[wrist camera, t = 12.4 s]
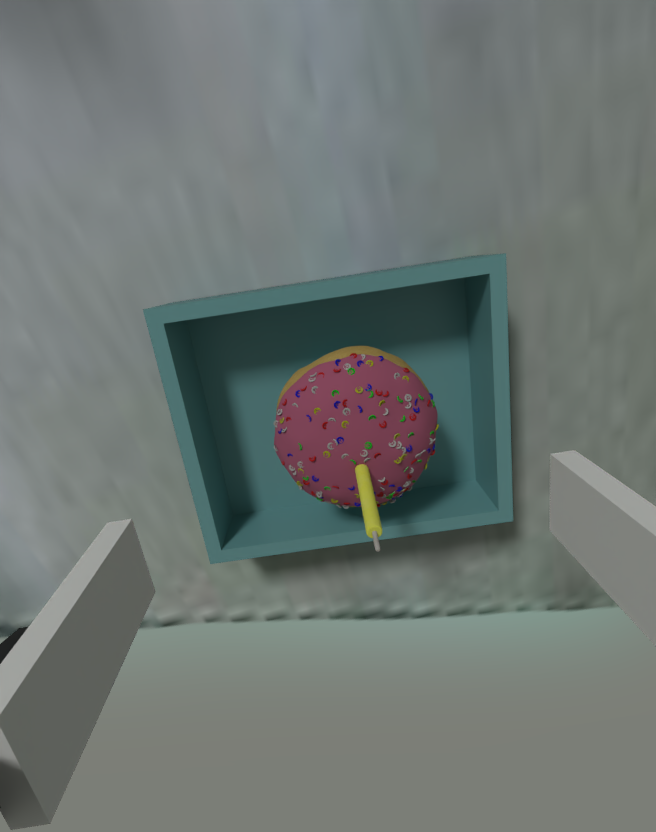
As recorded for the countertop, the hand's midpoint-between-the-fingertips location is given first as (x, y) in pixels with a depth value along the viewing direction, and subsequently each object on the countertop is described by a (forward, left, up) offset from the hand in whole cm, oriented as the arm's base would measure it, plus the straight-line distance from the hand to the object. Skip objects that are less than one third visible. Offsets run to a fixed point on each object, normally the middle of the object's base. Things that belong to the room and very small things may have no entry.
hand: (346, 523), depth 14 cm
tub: (0, 0, -15) cm, 15 cm away
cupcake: (+1, 0, -15) cm, 14 cm away
